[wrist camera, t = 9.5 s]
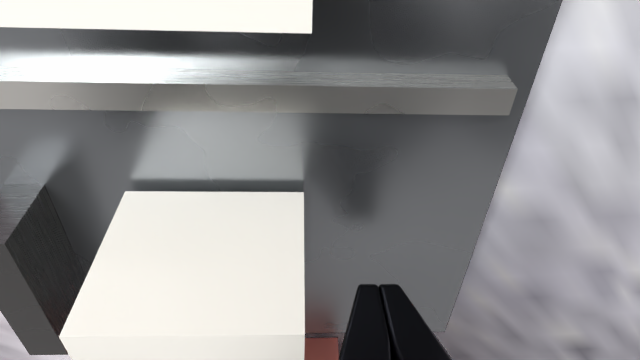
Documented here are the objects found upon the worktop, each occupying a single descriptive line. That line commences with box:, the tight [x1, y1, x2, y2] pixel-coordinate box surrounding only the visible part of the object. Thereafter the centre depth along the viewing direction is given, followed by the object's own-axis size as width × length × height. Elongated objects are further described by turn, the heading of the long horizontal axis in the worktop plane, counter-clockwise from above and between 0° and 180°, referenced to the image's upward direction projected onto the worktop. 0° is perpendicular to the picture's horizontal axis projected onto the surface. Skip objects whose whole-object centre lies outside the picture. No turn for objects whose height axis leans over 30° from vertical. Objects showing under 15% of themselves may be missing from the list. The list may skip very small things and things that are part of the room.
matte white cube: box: [59, 191, 305, 360], centre depth 9 cm, size 4×4×3 cm
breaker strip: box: [0, 0, 562, 355], centre depth 8 cm, size 10×15×3 cm, turn 178°
